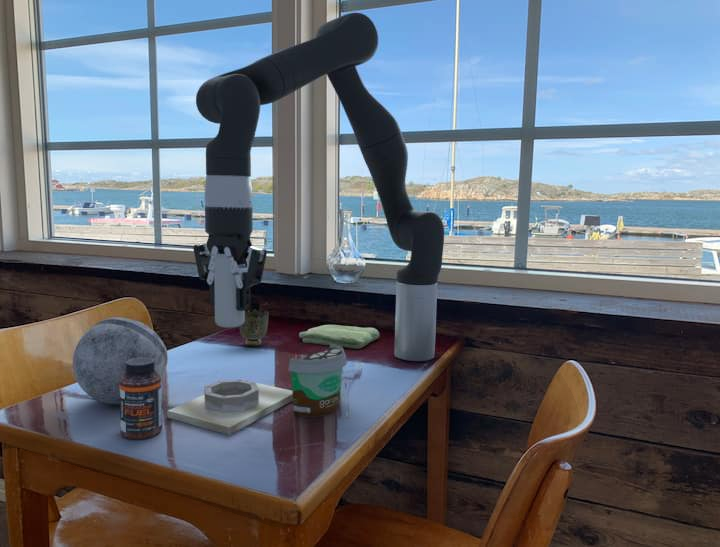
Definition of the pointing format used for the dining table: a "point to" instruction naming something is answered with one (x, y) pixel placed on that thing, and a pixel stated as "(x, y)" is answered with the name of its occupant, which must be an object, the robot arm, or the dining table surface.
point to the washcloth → (340, 336)
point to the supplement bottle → (140, 399)
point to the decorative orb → (114, 355)
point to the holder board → (233, 418)
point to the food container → (317, 382)
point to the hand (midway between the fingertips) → (229, 307)
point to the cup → (254, 327)
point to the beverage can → (226, 293)
